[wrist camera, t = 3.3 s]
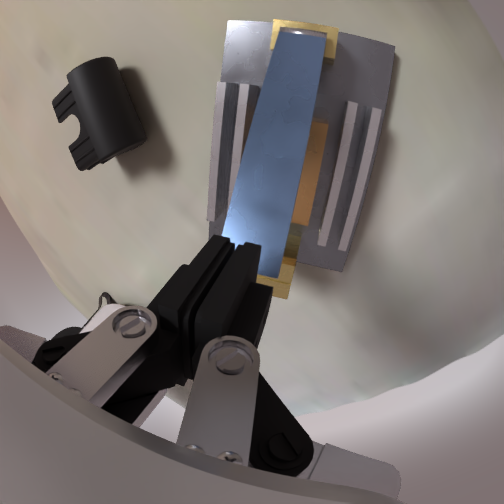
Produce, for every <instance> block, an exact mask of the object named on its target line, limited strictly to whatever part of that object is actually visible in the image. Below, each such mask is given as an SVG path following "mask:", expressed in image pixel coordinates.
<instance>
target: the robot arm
mask: <svg viewBox="0 0 504 504" xmlns="http://www.w3.org/2000/svg"><path fill="white" fill-rule="evenodd" d="M261 248H262V246H261V245H259V244H255V243H250V242H245V243H244V245H240V244H239V245H238V246H237V247H236V249H235V243H232V242H231V241H230V238H228V237H224V236H220V235H215V234H214V235H213V236H212V237H211V238H210V240H209V241H208V242H207V243H206V245H205V246H204V247H203V248H202V249H201V251H200V252H199V253H198V254H197V256H196V257H195V258H194V259H193V261H192V262H191V263H190V264H189V265H186V264H183V265H182V266H180V267H179V269H178V270H177V271H176V272H175V273H174V275H173V276H172V277H171V278H170V279H169V281H168V282H167V283H166V284H165V286H164V287H163V288H162V289H161V290H160V292H159V293H158V294H157V295H156V297H155V298H154V299H153V300H152V302H151V303H150V304H149V305H148V306H147V308H145V307H142V306H135V305H133V306H126V307H123V308H120V309H118V310H116V311H115V312H113V313H112V314H111V315H110V316H109V317H108V318H106V319H105V320H104V321H103V322H102V323H101V324H99V325H98V326H97V327H96V328H95V329H94V330H93V331H89V332H84V333H80V334H75V335H70V336H65V337H60V338H55V339H52V340H49V341H47V340H46V338H43V337H40V336H37V335H34V334H31V333H28V332H25V331H22V330H19V329H17V328H14V327H11V326H1V327H0V504H406V503H404V502H402V501H400V500H397V497H398V494H399V491H400V487H401V477H400V474H399V471H398V470H397V469H396V468H395V467H394V466H393V465H390V464H388V463H386V462H382V461H379V460H375V459H372V458H369V457H365V456H362V455H359V454H356V453H353V452H350V451H347V450H344V449H341V448H339V447H336V446H333V445H330V444H328V443H326V444H325V445H322V444H319V443H317V442H314V441H312V440H311V438H310V437H309V435H308V434H307V433H306V431H305V430H304V429H303V428H302V426H301V425H300V424H299V423H298V421H297V420H296V419H295V418H294V416H293V415H292V414H291V413H290V411H289V410H288V409H287V407H286V406H285V405H284V404H283V402H282V401H281V400H280V398H279V397H278V396H277V395H276V393H275V392H274V391H273V389H272V388H271V387H270V385H269V384H268V383H267V381H266V380H265V379H264V377H263V376H262V375H261V373H260V372H259V367H260V355H259V353H258V351H257V348H258V345H259V342H260V339H261V336H262V333H263V329H264V326H265V323H266V319H267V316H268V312H269V308H270V303H271V298H272V294H273V287H272V286H268V285H264V284H260V283H256V280H257V274H258V268H259V261H260V255H261ZM187 379H191V380H192V379H193V385H192V389H191V392H190V396H189V399H188V403H187V406H186V410H185V413H184V417H183V421H182V424H181V428H180V431H179V435H178V439H177V442H176V444H175V443H173V442H170V441H168V440H166V439H163V438H161V437H158V436H156V435H154V434H152V433H149V432H147V431H145V430H143V429H140V428H139V427H140V426H141V425H142V424H143V422H144V421H145V420H146V418H147V417H148V416H149V415H150V414H151V412H152V411H153V410H154V409H155V407H156V406H157V405H158V404H159V402H160V401H161V400H162V398H163V397H164V396H165V394H166V392H167V388H171V387H174V386H175V384H179V385H181V386H184V385H185V383H186V381H187Z"/></svg>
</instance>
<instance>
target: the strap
mask: <svg viewBox="0 0 504 504" xmlns="http://www.w3.org/2000/svg"><path fill="white" fill-rule="evenodd" d="M326 40H327V33H326V32H321V31H315V30H308V29H301V28H293V27H284V26H280V29H279V33H278V37H277V40H276V43H275V46H274V49H273V52H272V56H271V59H270V62H269V65H268V69H267V72H266V75H265V79H264V82H263V85H262V89H261V92H260V95H259V99H258V102H257V106H256V109H255V113H254V116H253V120H252V123H251V127H250V130H249V134H248V138H247V141H246V145H245V148H244V152H243V156H242V159H241V163H240V167H239V171H238V174H237V178H236V182H235V186H234V190H233V193H232V197H231V201H230V205H229V209H228V213H227V217H226V221H225V225H224V229H223V233H222V236H224V237H228V238H230V241H231V242H232V243H235V249H236V247H237V246H238V245H239V244H240V245H244V243H245V242H250V243H255V244H259V245H261V246H262V248H261V255H260V261H259V268H258V274H259V275H263V276H267V277H272V278H276V279H278V277H279V273H280V269H281V264H282V260H283V256H284V251H285V247H286V243H287V238H288V234H289V229H290V225H291V221H292V216H293V211H294V207H295V202H296V198H297V193H298V188H299V184H300V179H301V174H302V169H303V164H304V160H305V155H306V150H307V145H308V140H309V135H310V129H311V124H312V119H313V114H314V108H315V103H316V98H317V92H318V87H319V81H320V75H321V70H322V64H323V58H324V52H325V46H326Z"/></svg>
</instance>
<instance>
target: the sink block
mask: <svg viewBox="0 0 504 504" xmlns="http://www.w3.org/2000/svg"><path fill="white" fill-rule="evenodd" d="M280 26H284V27H293V28H301V29H308V30H315V31H321V32H326V33H327V40H326V46H325V52H324V58H323V64H322V70H321V75H320V81H319V87H318V92H317V98H316V103H315V108H314V114H313V119H312V124H311V129H310V135H309V140H308V145H307V150H306V155H305V160H304V164H303V169H302V174H301V179H300V184H299V188H298V193H297V198H296V202H295V207H294V211H293V216H292V221H291V225H290V229H289V234H288V238H287V243H286V247H285V251H284V256H283V260H282V264H281V269H280V273H279V277H278V279H276V278H272V277H267V276H263V275H259V274H257V280H256V283H260V284H264V285H268V286H272V287H273V294H272V296H274V297H279V298H283V299H287V298H288V294H289V290H290V286H291V281H292V277H293V273H294V269H295V265H296V262H300V263H305V264H309V265H313V266H318V267H322V268H326V269H331V270H335V271H339V272H342V270H343V267H344V264H345V261H346V258H347V255H348V252H349V249H350V246H351V243H352V240H353V236H354V233H355V230H356V227H357V223H358V220H359V216H360V213H361V209H362V206H363V202H364V199H365V195H366V191H367V188H368V184H369V180H370V176H371V172H372V168H373V164H374V160H375V156H376V151H377V147H378V143H379V138H380V133H381V129H382V124H383V119H384V114H385V109H386V103H387V98H388V92H389V86H390V80H391V74H392V67H393V60H394V53H395V46H393V45H389V44H386V43H383V42H379V41H375V40H372V39H368V38H364V37H360V36H356V35H352V34H347V33H342V32H338V30H339V28H335V27H330V26H324V25H318V24H312V23H305V22H297V21H288V20H278V19H274V21H273V22H258V21H228V25H227V32H226V40H225V47H224V56H223V64H222V73H221V82H217V91H216V101H215V111H214V122H213V134H212V147H211V160H210V175H209V191H208V210H207V220H208V221H210V222H209V240H210V238H211V237H212V236H213V235H214V234H215V235H220V236H222V233H223V229H224V225H225V221H226V217H227V213H228V209H229V205H230V201H231V197H232V193H233V190H234V186H235V182H236V178H237V174H238V171H239V167H240V163H241V159H242V156H243V152H244V148H245V145H246V141H247V138H248V134H249V130H250V127H251V123H252V120H253V116H254V113H255V109H256V106H257V102H258V99H259V95H260V92H261V89H262V85H263V82H264V79H265V75H266V72H267V69H268V65H269V62H270V59H271V56H272V52H273V49H274V46H275V43H276V40H277V37H278V33H279V29H280Z"/></svg>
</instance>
